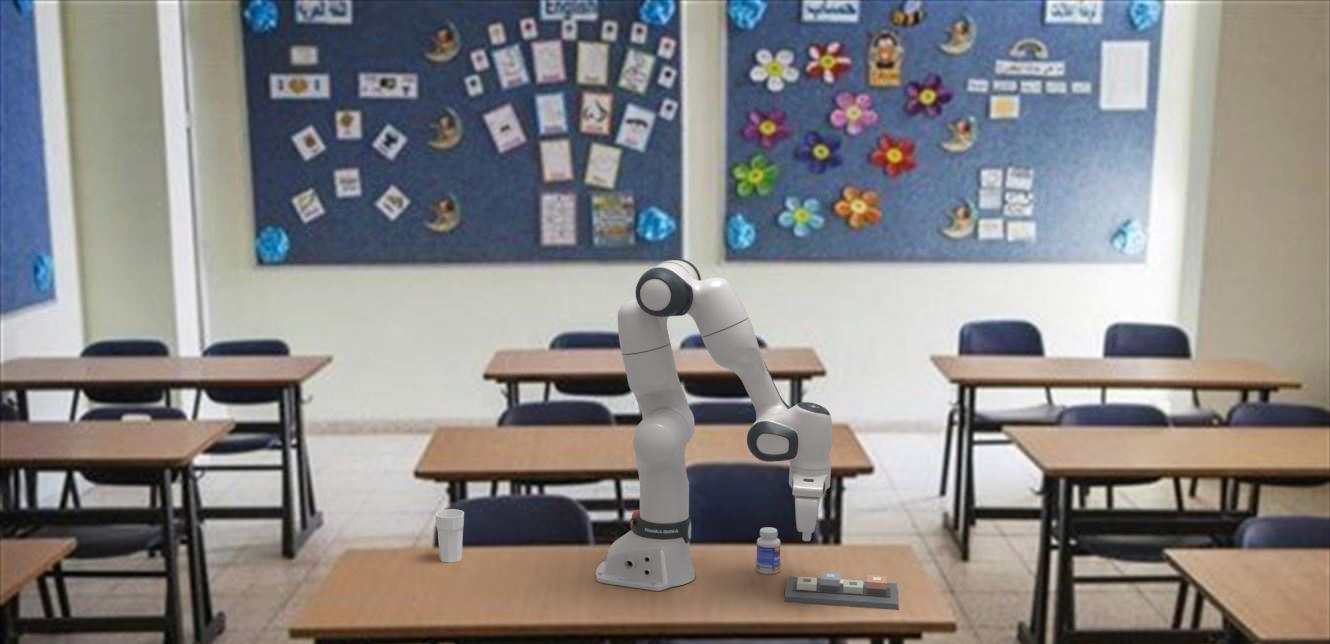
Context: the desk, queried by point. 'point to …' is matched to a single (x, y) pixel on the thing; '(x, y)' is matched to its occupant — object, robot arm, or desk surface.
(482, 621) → the desk surface
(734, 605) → the desk surface
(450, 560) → the cup
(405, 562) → the desk surface
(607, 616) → the desk surface
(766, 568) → the pill bottle
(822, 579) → the slate key
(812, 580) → the cream key
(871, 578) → the terracotta key
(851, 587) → the sage key
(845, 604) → the keypad base
